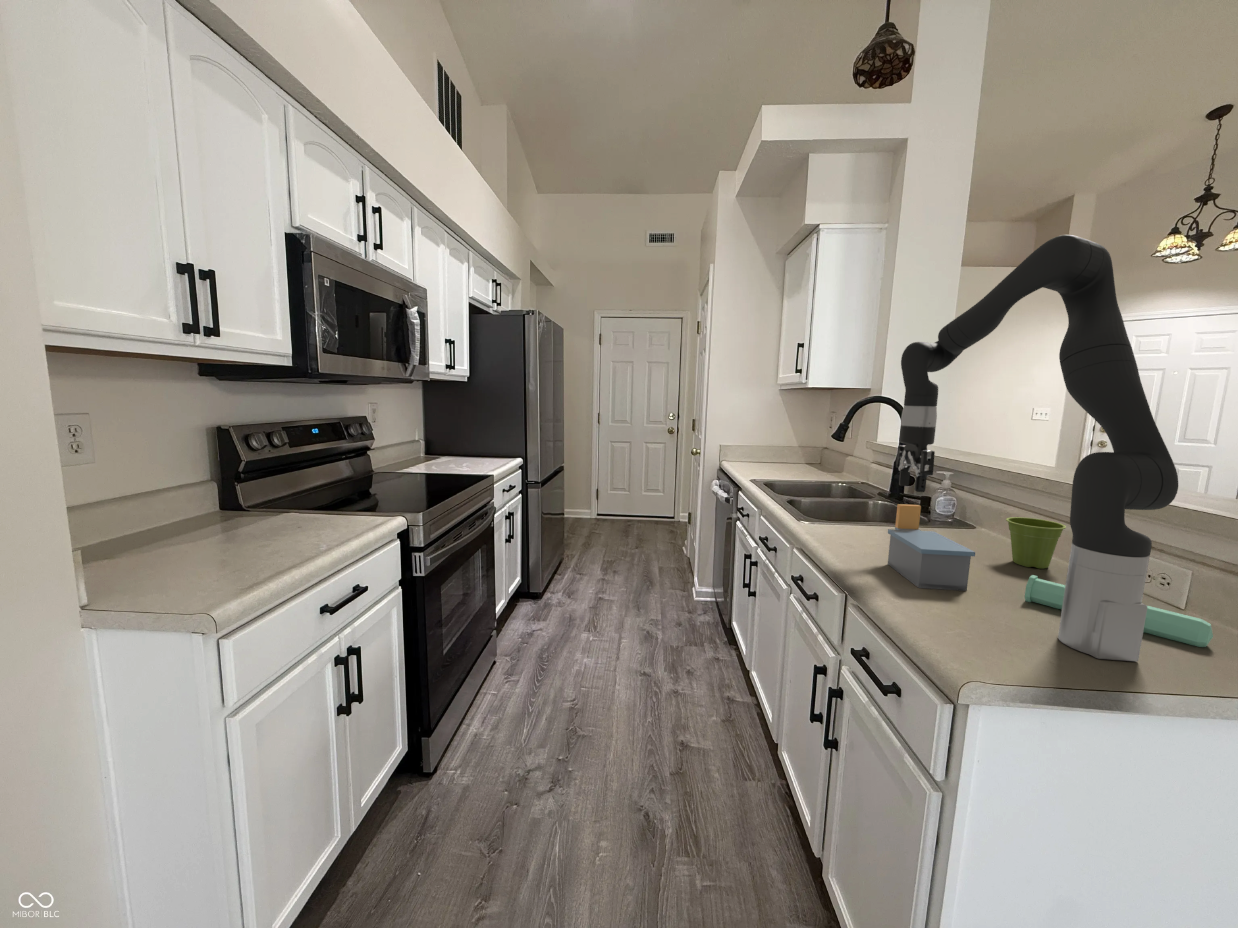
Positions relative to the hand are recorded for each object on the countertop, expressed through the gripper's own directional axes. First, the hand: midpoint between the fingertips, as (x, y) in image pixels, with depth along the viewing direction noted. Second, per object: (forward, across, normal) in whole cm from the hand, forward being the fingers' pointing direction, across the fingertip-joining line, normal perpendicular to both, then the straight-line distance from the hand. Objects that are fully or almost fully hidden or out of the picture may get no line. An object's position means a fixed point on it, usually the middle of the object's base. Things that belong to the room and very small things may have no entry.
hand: (911, 488), depth 125 cm
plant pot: (+20, +4, -33) cm, 39 cm away
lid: (+12, -9, 0) cm, 15 cm away
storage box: (+19, -11, 0) cm, 22 cm away
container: (+20, -31, -24) cm, 44 cm away
